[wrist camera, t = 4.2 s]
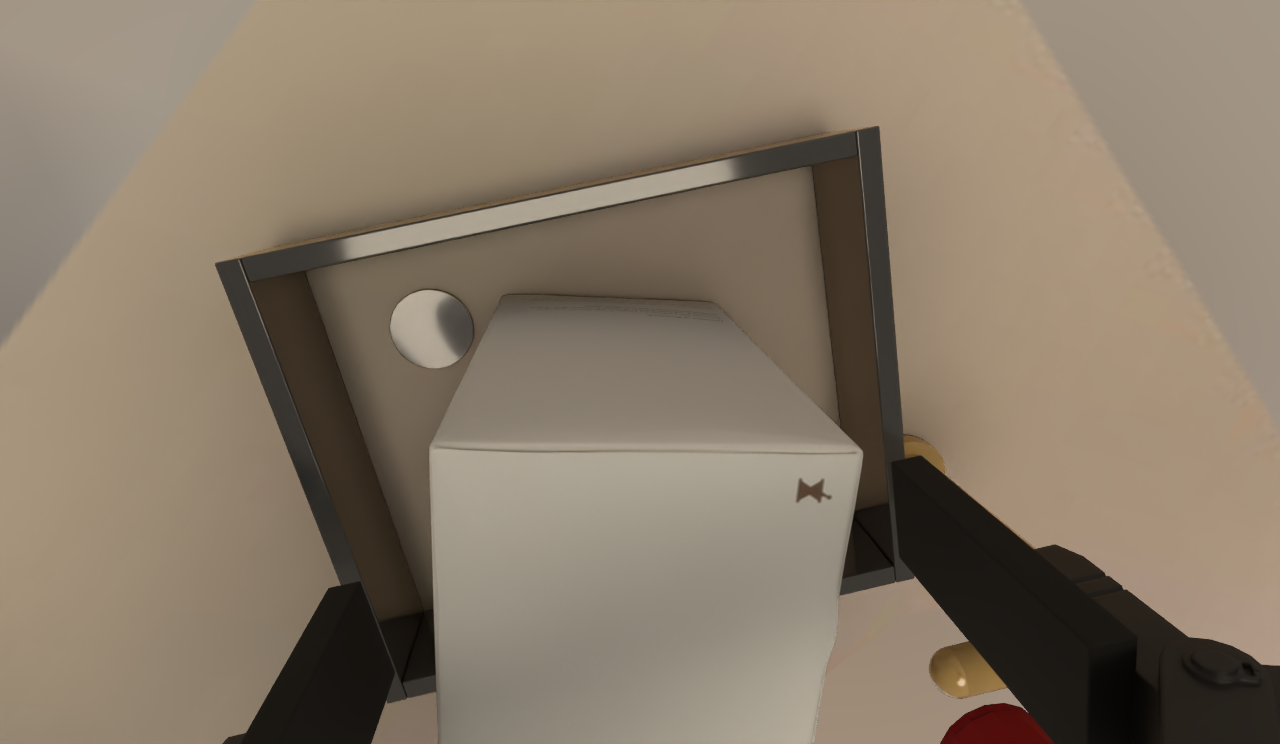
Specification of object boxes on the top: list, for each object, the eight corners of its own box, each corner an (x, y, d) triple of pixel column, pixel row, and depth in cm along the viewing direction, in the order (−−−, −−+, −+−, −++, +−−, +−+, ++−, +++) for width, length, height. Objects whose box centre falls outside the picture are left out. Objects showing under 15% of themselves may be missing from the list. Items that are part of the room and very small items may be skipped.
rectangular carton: (496, 288, 27) (416, 431, 12) (718, 298, 28) (881, 441, 13) (495, 496, 29) (428, 812, 15) (698, 498, 30) (816, 795, 16)
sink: (412, 629, 31) (317, 915, 19) (273, 246, 25) (21, 316, 14) (939, 506, 32) (1157, 704, 20) (914, 114, 26) (1194, 72, 15)
